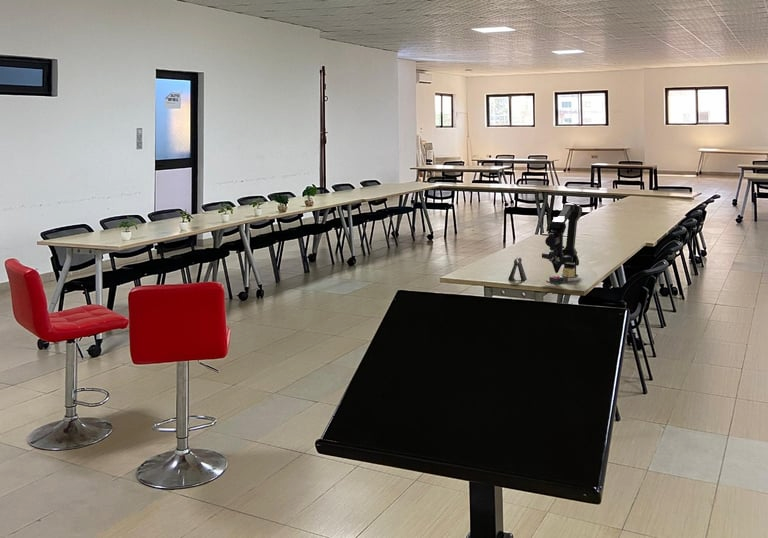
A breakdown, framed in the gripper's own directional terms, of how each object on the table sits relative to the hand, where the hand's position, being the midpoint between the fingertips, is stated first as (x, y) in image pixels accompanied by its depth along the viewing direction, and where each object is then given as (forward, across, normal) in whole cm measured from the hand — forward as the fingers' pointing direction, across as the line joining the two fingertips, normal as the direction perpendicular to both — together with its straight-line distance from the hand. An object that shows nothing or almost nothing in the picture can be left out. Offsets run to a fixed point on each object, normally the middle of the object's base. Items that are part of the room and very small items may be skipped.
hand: (556, 272), depth 406 cm
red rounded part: (+4, 0, 0) cm, 5 cm away
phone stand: (+5, -16, -13) cm, 22 cm away
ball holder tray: (+5, 0, +5) cm, 7 cm away
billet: (+4, 0, +9) cm, 10 cm away
